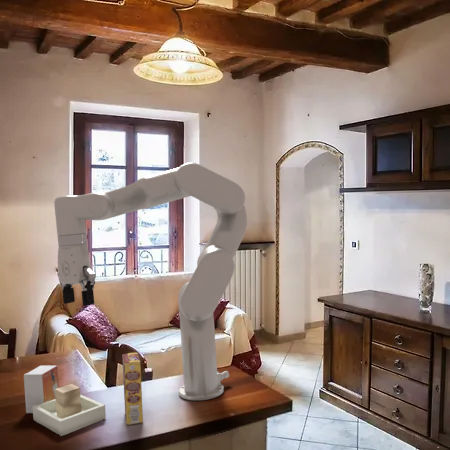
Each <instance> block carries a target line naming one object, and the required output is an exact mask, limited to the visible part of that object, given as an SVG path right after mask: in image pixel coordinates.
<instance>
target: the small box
mask: <svg viewBox="0 0 450 450" xmlns="http://www.w3.org/2000/svg"><path fill="white" fill-rule="evenodd" d="M58 371H59V369H58V365H39V366H37V367H35V368H34V369H32V370H30V371H28V372H27V373H24V374H23V383H24V385H23V387H24V397H25V401H24V402H25V411H26V414H33V406H36V405H39V404H42V403H45V402H48V401H51V400H54V399H56V397H55V389H57V388H60V385H59V383H60V382H59V372H58Z"/></svg>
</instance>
